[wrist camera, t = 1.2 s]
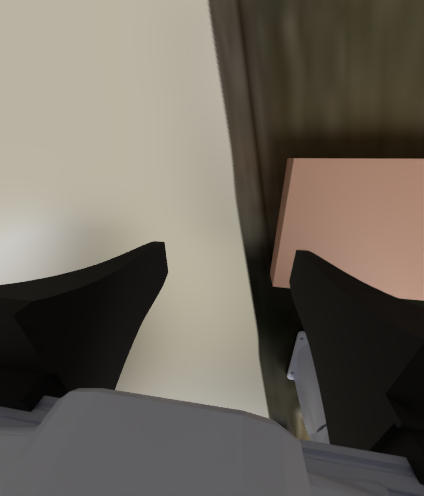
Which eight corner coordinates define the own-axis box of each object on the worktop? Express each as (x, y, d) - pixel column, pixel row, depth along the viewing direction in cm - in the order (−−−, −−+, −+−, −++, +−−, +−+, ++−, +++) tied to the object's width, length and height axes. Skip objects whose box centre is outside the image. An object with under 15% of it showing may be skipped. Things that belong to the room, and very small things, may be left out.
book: (414, 283, 21) (440, 301, 18) (269, 271, 23) (272, 286, 20) (482, 158, 15) (531, 159, 13) (286, 158, 18) (294, 158, 15)
